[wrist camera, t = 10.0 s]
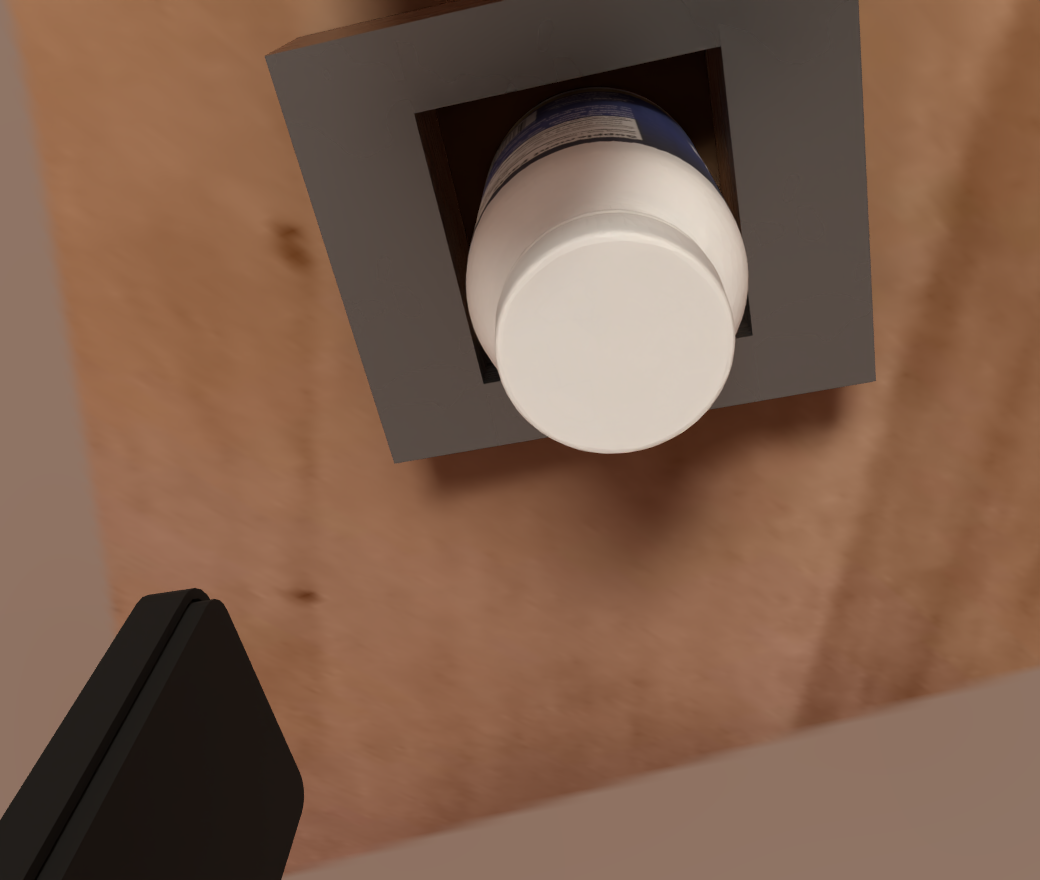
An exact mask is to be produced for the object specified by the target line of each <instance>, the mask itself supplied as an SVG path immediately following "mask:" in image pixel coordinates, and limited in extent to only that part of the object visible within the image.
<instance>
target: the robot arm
mask: <svg viewBox="0 0 1040 880" xmlns="http://www.w3.org/2000/svg"><path fill="white" fill-rule="evenodd" d="M303 803H304V787H303V782H302V778H301V775H300V772H299V770H298V768H297V765H296V763H295V761H294V759H293V756H292V754H291V752H290V750H289V747H288V745H287V743H286V741H285V738H284V736H283V734H282V732H281V730H280V727H279V725H278V723H277V721H276V718H275V716H274V714H273V712H272V709H271V707H270V705H269V703H268V700H267V698H266V696H265V694H264V691H263V689H262V687H261V685H260V683H259V680H258V678H257V676H256V674H255V671H254V669H253V667H252V665H251V662H250V660H249V658H248V656H247V653H246V651H245V649H244V647H243V644H242V642H241V640H240V638H239V636H238V633H237V631H236V629H235V627H234V624H233V622H232V620H231V618H230V615H229V613H228V611H227V609H226V607H225V606H224V604H223V603H222V602H221V601H220V600H216V599H212V600H210V599H209V597H208V595H207V594H206V593H204V592H203V591H202V590H201V589H197V588H193V589H186V590H179V591H172V592H165V593H158V594H151V595H147V596H145V597H142V598H141V599H140V601H139V602H138V603H137V604H136V606H135V607H134V609H133V610H132V612H131V614H130V615H129V617H128V618H127V620H126V621H125V623H124V625H123V626H122V628H121V629H120V631H119V633H118V634H117V636H116V637H115V639H114V640H113V642H112V644H111V645H110V647H109V648H108V650H107V652H106V653H105V655H104V657H103V658H102V660H101V661H100V663H99V664H98V666H97V667H96V669H95V671H94V672H93V674H92V675H91V677H90V679H89V680H88V682H87V683H86V685H85V687H84V688H83V690H82V691H81V693H80V694H79V696H78V698H77V699H76V701H75V702H74V704H73V706H72V707H71V709H70V710H69V712H68V714H67V715H66V717H65V718H64V720H63V721H62V723H61V725H60V726H59V728H58V729H57V731H56V733H55V734H54V736H53V737H52V739H51V741H50V742H49V744H48V745H47V747H46V748H45V750H44V752H43V753H42V755H41V756H40V758H39V759H38V761H37V763H36V764H35V766H34V767H33V769H32V771H31V773H30V774H29V776H28V777H27V779H26V780H25V782H24V783H23V785H22V786H21V788H20V790H19V791H18V793H17V794H16V796H15V798H14V799H13V801H12V802H11V804H10V805H9V807H8V809H7V810H6V812H5V813H4V815H3V817H2V818H1V820H0V880H281V878H282V875H283V872H284V869H285V865H286V862H287V859H288V856H289V852H290V849H291V846H292V843H293V839H294V836H295V833H296V830H297V826H298V823H299V820H300V817H301V813H302V809H303Z"/></svg>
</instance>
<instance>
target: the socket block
mask: <svg viewBox="0 0 1040 880" xmlns="http://www.w3.org/2000/svg"><path fill="white" fill-rule="evenodd" d="M701 50H705V56H706V64H707V73H708V82H709V90H710V99H711V107H712V116H713V124H714V133H715V141H716V150H717V159H718V167H719V176H720V184H721V193H722V196H723V197H724V199H725V201H726V203H727V205H728V206H729V208H730V210H731V212H732V215H733V217H734V219H735V221H736V224H737V226H738V229H739V231H740V234H741V237H742V240H743V243H744V247H745V251H746V256H747V263H748V293H747V300H746V306H745V310H744V314H743V317H742V320H741V323H740V325H739V328H738V331H737V333H736V335H735V350H734V357H733V363H732V367H731V370H730V373H729V376H728V378H727V380H726V382H725V385H724V387H723V389H722V391H721V392H720V394H719V396H718V397H717V399H716V400H715V402H714V403H713V404H712V406H711V407H710V409H716V408H722V407H728V406H733V405H739V404H745V403H751V402H757V401H763V400H768V399H774V398H780V397H786V396H792V395H798V394H803V393H809V392H815V391H821V390H827V389H833V388H838V387H844V386H850V385H856V384H862V383H868V382H873V381H876V374H875V352H874V331H873V309H872V287H871V265H870V243H869V221H868V199H867V177H866V156H865V134H864V112H863V90H862V68H861V46H860V24H859V3H858V0H457V1H452V2H448V3H444V4H440V5H435V6H431V7H427V8H422V9H418V10H414V11H410V12H405V13H401V14H397V15H392V16H388V17H384V18H380V19H375V20H371V21H367V22H362V23H358V24H354V25H350V26H345V27H341V28H337V29H333V30H328V31H324V32H320V33H315V34H311V35H307V36H303V37H298V38H296V39H295V40H293V41H291V42H289V43H287V44H285V45H284V46H282V47H280V48H278V49H276V50H275V51H273V52H271V53H269V54H267V55H266V56H265V59H266V62H267V65H268V68H269V71H270V75H271V78H272V81H273V84H274V87H275V90H276V93H277V97H278V100H279V103H280V106H281V109H282V112H283V115H284V118H285V122H286V125H287V128H288V131H289V134H290V137H291V140H292V144H293V147H294V150H295V153H296V156H297V159H298V162H299V166H300V169H301V172H302V175H303V178H304V181H305V184H306V187H307V191H308V194H309V197H310V200H311V203H312V206H313V209H314V213H315V216H316V219H317V222H318V225H319V228H320V231H321V235H322V238H323V241H324V244H325V247H326V250H327V253H328V256H329V260H330V263H331V266H332V269H333V272H334V275H335V278H336V282H337V285H338V288H339V291H340V294H341V297H342V300H343V304H344V307H345V310H346V313H347V316H348V319H349V322H350V325H351V329H352V332H353V335H354V338H355V341H356V344H357V347H358V351H359V354H360V357H361V360H362V363H363V366H364V369H365V372H366V376H367V379H368V382H369V385H370V388H371V391H372V394H373V398H374V401H375V404H376V407H377V410H378V413H379V416H380V420H381V423H382V426H383V429H384V432H385V435H386V438H387V441H388V445H389V448H390V451H391V454H392V457H393V460H394V463H401V462H407V461H412V460H418V459H424V458H430V457H436V456H442V455H447V454H453V453H459V452H465V451H471V450H477V449H482V448H488V447H494V446H500V445H506V444H512V443H517V442H523V441H529V440H535V439H541V438H547V437H548V436H546V435H545V434H543V433H541V432H540V431H539V430H537V429H536V428H535V427H534V426H532V425H531V424H530V423H529V422H528V421H527V420H526V419H525V418H524V417H523V416H522V415H521V414H520V413H519V412H518V410H517V409H516V408H515V406H514V405H513V403H512V402H511V400H510V398H509V397H508V395H507V393H506V391H505V389H504V387H503V385H502V383H501V379H500V376H499V373H498V370H497V368H496V367H495V366H494V364H493V363H492V361H491V360H490V358H489V357H488V355H487V354H486V352H485V351H484V349H483V347H482V345H481V343H480V342H479V340H478V337H477V335H476V333H475V330H474V328H473V324H472V321H471V318H470V314H469V309H468V303H467V295H466V272H467V263H468V255H469V250H470V249H469V245H468V241H467V237H466V233H465V228H464V224H463V220H462V216H461V212H460V208H459V204H458V200H457V196H456V192H455V188H454V184H453V180H452V176H451V172H450V168H449V164H448V160H447V156H446V151H445V147H444V143H443V139H442V135H441V131H440V127H439V123H438V119H437V115H436V111H435V109H437V108H441V107H446V106H450V105H455V104H459V103H464V102H468V101H473V100H478V99H482V98H487V97H491V96H496V95H500V94H505V93H509V92H514V91H519V90H523V89H528V88H532V87H537V86H541V85H546V84H551V83H555V82H560V81H564V80H569V79H573V78H578V77H582V76H587V75H592V74H596V73H601V72H605V71H610V70H614V69H619V68H623V67H628V66H633V65H637V64H642V63H646V62H651V61H655V60H660V59H664V58H669V57H674V56H678V55H683V54H687V53H692V52H696V51H701ZM710 409H709V410H710Z"/></svg>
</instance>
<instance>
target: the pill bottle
mask: <svg viewBox="0 0 1040 880" xmlns="http://www.w3.org/2000/svg"><path fill="white" fill-rule="evenodd" d="M747 293H748V263H747V256H746V251H745V247H744V243H743V240H742V237H741V234H740V231H739V229H738V226H737V224H736V221H735V219H734V217H733V215H732V212H731V210H730V208H729V206H728V205H727V203H726V201H725V199H724V197H723V196H722V194H721V192H720V190H719V189H718V187H717V185H716V183H715V181H714V180H713V178H712V176H711V174H710V172H709V171H708V169H707V167H706V165H705V164H704V162H703V161H702V159H701V157H700V155H699V154H698V152H697V150H696V148H695V147H694V145H693V143H692V142H691V140H690V138H689V137H688V136H687V134H686V133H685V131H684V130H683V129H682V128H681V126H680V125H679V124H678V123H677V122H676V121H675V120H674V119H673V118H672V117H671V116H670V115H669V114H668V113H667V112H666V111H665V110H663V109H662V108H661V107H659V106H658V105H656V104H655V103H653V102H652V101H650V100H648V99H646V98H644V97H642V96H640V95H638V94H635V93H632V92H629V91H625V90H621V89H616V88H610V87H588V88H580V89H575V90H571V91H567V92H564V93H561V94H558V95H555V96H553V97H551V98H549V99H547V100H545V101H543V102H541V103H540V104H538V105H537V106H535V107H534V108H532V109H531V110H530V111H528V112H527V113H526V114H525V115H524V116H523V117H522V118H520V119H519V120H518V121H517V122H516V123H515V125H514V126H513V127H512V128H511V129H510V131H509V132H508V133H507V135H506V136H505V138H504V139H503V141H502V143H501V144H500V146H499V148H498V150H497V151H496V154H495V156H494V158H493V161H492V163H491V166H490V169H489V171H488V175H487V179H486V183H485V186H484V191H483V196H482V200H481V204H480V208H479V212H478V216H477V221H476V225H475V228H474V232H473V236H472V239H471V244H470V250H469V255H468V263H467V272H466V295H467V303H468V309H469V314H470V318H471V321H472V324H473V328H474V330H475V333H476V335H477V337H478V340H479V342H480V343H481V345H482V347H483V349H484V351H485V352H486V354H487V355H488V357H489V358H490V360H491V361H492V363H493V364H494V366H495V367H496V368H497V370H498V373H499V376H500V379H501V383H502V385H503V387H504V389H505V391H506V393H507V395H508V397H509V398H510V400H511V402H512V403H513V405H514V406H515V408H516V409H517V410H518V412H519V413H520V414H521V415H522V416H523V417H524V418H525V419H526V420H527V421H528V422H529V423H530V424H531V425H532V426H534V427H535V428H536V429H537V430H539V431H540V432H541V433H543V434H545V435H546V436H548V437H549V438H551V439H553V440H555V441H557V442H559V443H561V444H564V445H566V446H569V447H572V448H575V449H578V450H582V451H586V452H594V453H604V454H615V453H628V452H634V451H640V450H644V449H648V448H651V447H654V446H656V445H659V444H661V443H664V442H666V441H668V440H670V439H672V438H674V437H676V436H677V435H679V434H681V433H683V432H684V431H685V430H687V429H688V428H689V427H690V426H692V425H693V424H694V423H695V422H697V421H698V420H699V419H700V418H701V417H702V416H703V415H704V414H705V413H706V412H707V411H708V410H709V409H710V407H711V406H712V404H713V403H714V402H715V400H716V399H717V397H718V396H719V394H720V392H721V391H722V389H723V387H724V385H725V382H726V380H727V378H728V376H729V373H730V370H731V367H732V363H733V357H734V350H735V335H736V333H737V331H738V328H739V325H740V323H741V320H742V317H743V314H744V310H745V306H746V300H747Z"/></svg>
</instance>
